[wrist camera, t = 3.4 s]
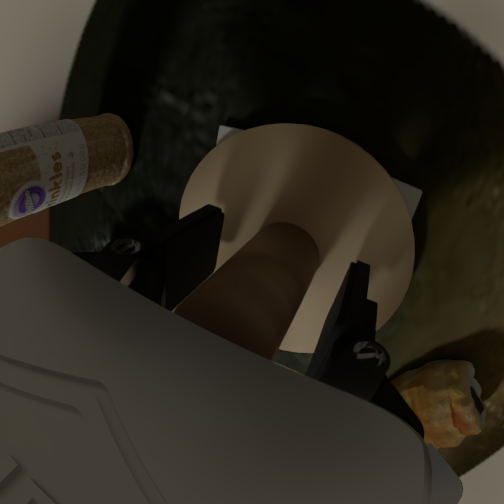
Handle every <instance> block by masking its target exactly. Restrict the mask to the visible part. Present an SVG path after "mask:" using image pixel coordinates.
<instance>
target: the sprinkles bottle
mask: <svg viewBox="0 0 504 504" xmlns="http://www.w3.org/2000/svg"><path fill="white" fill-rule="evenodd" d="M133 154H134V149H133V139H132V136H131V133H130V130H129V128H128V126H127V125H126V123H125V122H124V121H123V120H122V119H121V117H120V116H118V115H115V114H112V113H104V114H101V115H99V116H94V117H87V118H79V119H73V120H69V119H66V120H59V121H53V122H48V123H42V124H38V125H33V126H28V127H24V128H19V129H15V130H11V131H7V132H3V133H0V227H1V226H3V225H5V224H7V223H10V222H12V221H15V220H16V219H18V218H22V217H24V216H27V215H29V214H33V213H36V212H38V211H41V210H43V209H46V208H48V207H51V206H53V205H56V204H58V203H61V202H63V201H66V200H69V199H71V198H74V197H76V196H78V195H79V194H82V193H84V192H87V191H90V190H93V189H96V188H99V187H102V186H105V185H108V186H109V185H114V184H116V183H118V182H120V181H121V180H122V179H123V178H124V177H125V176H126V175H127V174H128V172H129V169H130V168H131V165H132V161H133Z"/></svg>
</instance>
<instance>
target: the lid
mask: <svg viewBox="0 0 504 504" xmlns="http://www.w3.org/2000/svg"><path fill="white" fill-rule="evenodd" d="M207 204H211V205H214V206H216V207H219V208H221V209H222V212H223V213H224V215H225V216H224V222H223V228H222V234H221V239H220V245H219V251H218V257H217V263H216V268H215V270H214V272H213V273H212V274H211V275H210V276H209V277H208V278H207V279H206V280H205V281H204V282H203V283H201V284H200V285H199V286H198V287H197V289H196V290H195V291H194V292H192V293H191V294H190V295H189V296H188V297H187V298H186V299H185V300H184V301H183V302H182V303H181V304H179V306H178V307H177V308H176V309H175V311H174V313H175V314H177V315H178V316H180V317H182V318H184V319H186V320H188V321H190V322H192V323H194V324H196V325H198V326H199V327H201V328H203V329H205V330H207V331H209V332H211V333H213V334H215V335H217V336H219V337H221V338H224V339H226V340H228V341H230V342H232V343H234V344H236V345H238V346H240V347H242V348H245V349H247V350H249V351H251V352H253V353H255V354H258V355H260V356H262V357H264V358H266V359H269V360H271V361H273V359H274V357H275V355H276V353H277V351H278V349H281V350H286V351H292V352H300V353H314V351H315V348H316V345H317V342H318V340H319V337H320V334H321V331H322V328H323V325H324V322H325V319H326V317H327V315H328V312H329V310H330V308H331V306H332V304H333V302H334V300H335V297H336V295H337V293H338V291H339V289H340V286H341V284H342V282H343V280H344V277H345V275H346V273H347V270H348V268H349V266H350V263H351V262H354V263H356V262H357V260H359V261H361V262H364V263H366V264H369V265H370V276H369V285H368V294H367V299H369V300H372V301H374V302H377V303H378V310H377V322H376V331H377V330H378V329H379V328H380V327H381V326H383V325H384V324H385V323H386V322H387V321H388V319H389V318H390V317H391V316H392V315H393V314H394V312H395V311H396V309H397V308H398V306H399V305H400V303H401V302H402V300H403V298H404V296H405V294H406V292H407V289H408V287H409V283H410V280H411V277H412V273H413V267H414V259H415V240H414V233H413V228H412V222H411V219H410V216H409V213H408V210H407V207H406V204H405V201H404V199H403V197H402V195H401V193H400V191H399V189H398V187H397V185H396V184H395V182H394V181H393V179H392V178H391V176H390V175H389V174H388V172H387V171H386V170H385V168H384V167H383V166H382V165H381V164H380V163H379V162H378V161H377V160H376V159H375V158H374V157H373V156H372V155H371V154H369V153H368V152H367V151H366V150H364V149H363V148H362V147H360V146H359V145H358V144H356V143H354V142H353V141H351V140H349V139H347V138H345V137H344V136H342V135H340V134H337V133H334V132H332V131H329V130H327V129H324V128H319V127H315V126H310V125H304V124H291V123H282V124H269V125H263V126H259V127H254V128H250V129H247V130H245V131H242V132H240V133H237V134H235V135H233V136H231V137H230V138H228V139H226V140H225V141H223V142H221V143H220V144H219V145H218V146H216V147H215V148H214V149H213V150H211V151H210V152H209V153H208V154H207V155H206V156H205V158H204V159H203V160H202V161H201V162H200V163H199V165H198V166H197V168H196V169H195V171H194V172H193V174H192V175H191V177H190V179H189V182H188V184H187V186H186V188H185V191H184V194H183V198H182V201H181V207H180V212H179V219H181V218H183V217H185V216H186V215H188V214H190V213H192V212H194V211H196V210H198V209H200V208H202V207H203V206H205V205H207Z"/></svg>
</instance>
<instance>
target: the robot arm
mask: <svg viewBox="0 0 504 504" xmlns="http://www.w3.org/2000/svg"><path fill="white" fill-rule="evenodd" d="M224 216H225V215H224V213H223V212H222V209H221V208H219V207H216V206H214V205H211V204H207V205H205V206H203V207H202V208H200V209H198V210H196V211H194V212H192V213H190V214H188V215H186V216H185V217H183V218H181V219H179V220H177V221H175V222H173V223H172V224H170V225H168V226H166V227H164V228H162V229H161V230H159V231H157V232H155V233H153V234H152V235H150V236H148V241H147V242H146V243H143V242H142V241H141V240H139V239H137V238H134V237H119V238H116V239H113V240H112V241H110V242H109V243H108V244H107V245H106V246H105V247H104V248H103V249H102V250H101V251H100V252H77V253H71V252H69V251H68V250H66V249H64V248H63V247H60V246H58V245H56V244H54V243H51V242H49V241H45V240H42V239H36V238H23V239H19V240H17V241H14V242H12V243H10V244H8V245H6V246H4V247H2V248H0V504H457V503H458V502H459V500H460V498H461V497H462V493H463V486H462V482H461V480H460V479H459V477H458V476H457V475H456V473H455V472H454V471H453V470H452V469H451V467H450V466H449V465H448V464H447V462H446V461H445V460H444V459H443V457H442V456H441V455H440V454H439V453H438V451H437V450H436V449H435V448H434V446H433V445H432V444H431V443H429V444H428V445H427V444H426V443H425V442H424V428H423V425H422V423H421V421H420V420H419V418H418V417H417V416H416V414H415V413H414V412H413V410H412V409H411V408H410V406H409V405H408V404H407V402H406V401H405V400H404V398H403V397H402V396H401V394H400V393H399V392H398V390H397V389H396V388H395V386H394V385H393V384H392V383H391V381H390V380H389V379H388V377H387V376H386V375H385V374H386V372H387V370H388V369H389V367H390V363H391V361H390V356H389V354H388V352H387V351H386V349H385V348H384V347H383V346H382V345H381V344H379V343H378V342H376V341H375V333H376V322H377V310H378V303H377V302H374V301H372V300H369V299H367V294H368V285H369V276H370V265H369V264H366V263H364V262H361V261H359V260H357V262H356V263H354V262H351V263H350V266H349V268H348V270H347V273H346V275H345V277H344V280H343V282H342V284H341V286H340V289H339V291H338V293H337V295H336V297H335V300H334V302H333V304H332V306H331V308H330V310H329V312H328V315H327V317H326V319H325V322H324V325H323V328H322V331H321V334H320V337H319V340H318V342H317V345H316V348H315V351H314V354H313V356H312V359H311V362H310V364H309V367H308V370H307V372H306V375H304V374H301V373H299V372H296V371H294V370H292V369H289V368H287V367H285V366H282V365H280V364H278V363H275V362H273V361H271V360H269V359H266V358H264V357H262V356H260V355H258V354H255V353H253V352H251V351H249V350H247V349H245V348H242V347H240V346H238V345H236V344H234V343H232V342H230V341H228V340H226V339H224V338H221V337H219V336H217V335H215V334H213V333H211V332H209V331H207V330H205V329H203V328H201V327H199V326H198V325H196V324H194V323H192V322H190V321H188V320H186V319H184V318H182V317H180V316H178V315H177V314H175V313H173V312H171V311H172V310H173V309H174V308H175V307H177V306H178V305H179V304H180V303H181V302H182V301H183V300H184V299H185V298H186V297H187V296H188V295H190V294H191V293H192V292H193V291H194V290H195V289H196V288H197V287H198V286H199V285H200V284H201V283H203V282H204V281H205V280H206V279H207V278H208V277H209V276H210V275H211V274H212V273H213V272H214V270H215V268H216V263H217V257H218V251H219V245H220V239H221V234H222V228H223V222H224Z"/></svg>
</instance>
